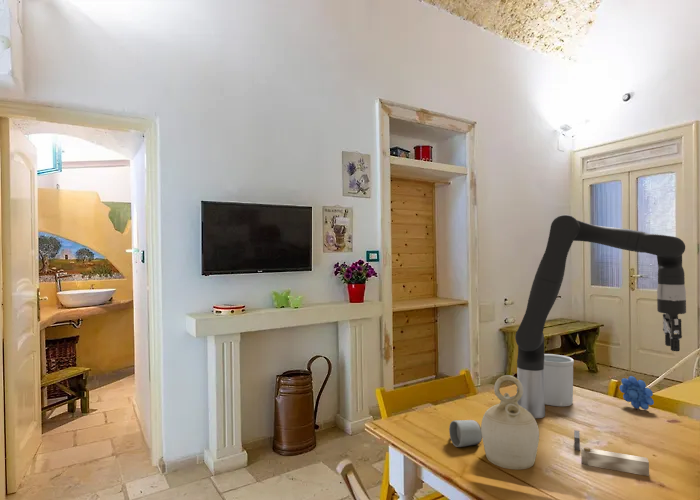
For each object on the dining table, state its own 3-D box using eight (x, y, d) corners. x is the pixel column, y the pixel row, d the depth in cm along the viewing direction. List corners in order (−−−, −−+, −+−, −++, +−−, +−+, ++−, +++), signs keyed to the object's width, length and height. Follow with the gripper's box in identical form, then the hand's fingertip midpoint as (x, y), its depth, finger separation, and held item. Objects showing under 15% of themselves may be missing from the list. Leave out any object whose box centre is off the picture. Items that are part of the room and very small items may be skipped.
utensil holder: (576, 398, 179) (575, 355, 179) (573, 409, 166) (572, 363, 166) (537, 393, 186) (536, 352, 187) (532, 403, 174) (531, 359, 174)
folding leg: (581, 464, 120) (581, 449, 120) (581, 459, 122) (581, 445, 122) (649, 476, 112) (648, 460, 113) (647, 471, 115) (647, 455, 115)
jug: (534, 482, 113) (532, 385, 113) (475, 468, 121) (473, 377, 122) (543, 459, 126) (541, 372, 126) (489, 447, 134) (487, 366, 135)
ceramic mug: (484, 447, 134) (483, 422, 134) (461, 451, 132) (460, 425, 132) (466, 435, 144) (465, 411, 144) (444, 438, 142) (443, 414, 142)
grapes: (614, 406, 168) (614, 375, 169) (622, 403, 172) (621, 372, 173) (649, 415, 159) (648, 382, 159) (656, 411, 163) (655, 379, 163)
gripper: (653, 296, 149) (654, 343, 149) (661, 299, 136) (662, 351, 136) (680, 296, 145) (681, 345, 145) (691, 300, 133) (692, 354, 132)
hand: (672, 348), depth 140 cm, fingers open, 8 cm apart
